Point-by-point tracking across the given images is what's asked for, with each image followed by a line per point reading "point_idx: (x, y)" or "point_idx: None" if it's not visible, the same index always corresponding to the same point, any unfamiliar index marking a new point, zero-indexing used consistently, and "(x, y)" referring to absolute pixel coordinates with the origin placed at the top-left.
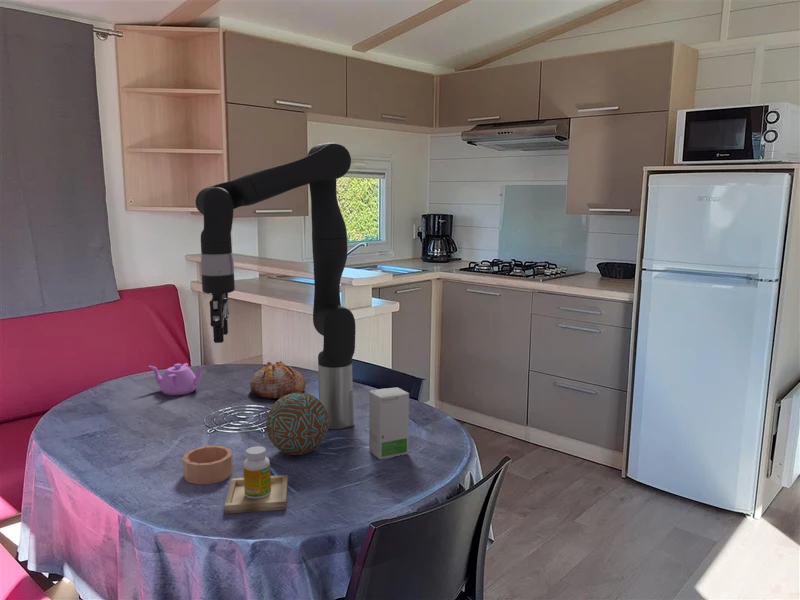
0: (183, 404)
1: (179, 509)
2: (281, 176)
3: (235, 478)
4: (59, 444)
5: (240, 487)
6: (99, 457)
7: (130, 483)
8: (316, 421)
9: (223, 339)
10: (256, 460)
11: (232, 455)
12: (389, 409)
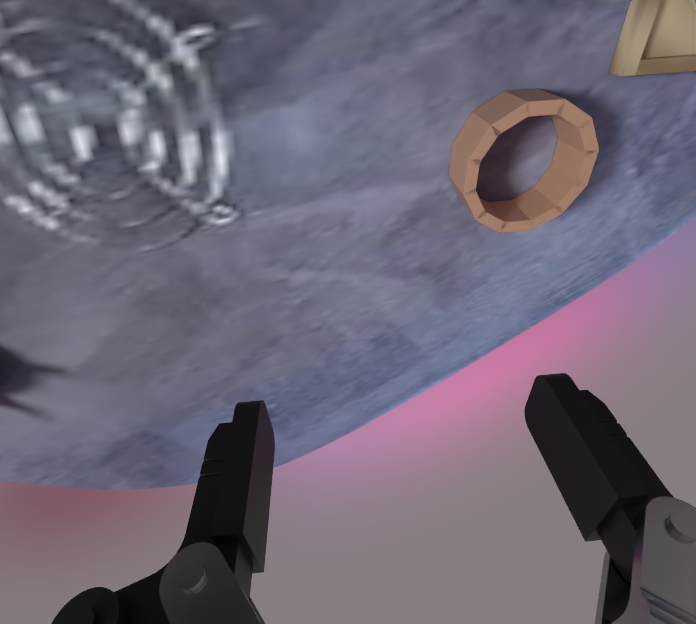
0: (45, 325)
1: (663, 179)
2: None
3: (628, 64)
4: (310, 436)
5: (657, 40)
6: (372, 375)
7: (501, 298)
8: None
9: (566, 385)
10: None
11: (523, 98)
12: None
